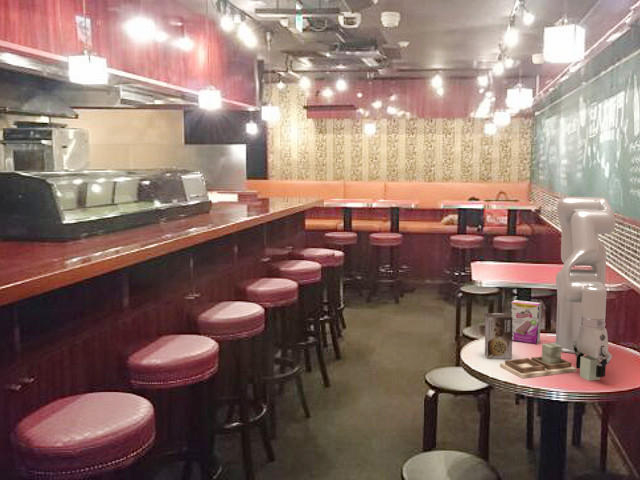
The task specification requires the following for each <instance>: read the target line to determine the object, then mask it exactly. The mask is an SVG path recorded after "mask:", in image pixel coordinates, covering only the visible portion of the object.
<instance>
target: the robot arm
mask: <svg viewBox="0 0 640 480" xmlns="http://www.w3.org/2000/svg"><path fill="white" fill-rule="evenodd" d="M556 214H557V217H558V221H559V224H560V228H561V240H560V242H561V243H560V258H561V261H562V263H563V265H562V268H561V270H559V271H558V272H557V273H556V275H555V283H556V284H555V285H556V293H557V294H556V296H557V298H556V299H557V302H556V328H555V341H554V342H552V343H554V344H557V345H559V346H561V353H568V354H569V353H570V354H575V355H574V356H575V360H576V361H575V368H577V369H579V370H580V359H581V357H582V356H590V357H592V358H595V359H596V361H597V363H598V365H597V366H596V377H600V378H604V377H606V370H607V369H606V367H607V366H608V364H609V363H610V361H611V359H612V358H613V355H612V354H611V353H610V352H609V338H608V330H607V328H606V326H607V324H606V313H607V311H606V309H607V288H606V271H607V269H606V268H607V250H606V247H605V245H604V244H603V242H600V241H599V234H601V235H603V234H607V235H609V234H612V233H614V231H615V229H616V216H615V213H614V211H613V208H612V206H611V204H610V202H609V201H608V199H607V198H605V197H602V196H567V197H562V198H560V199H559V200H558V202H557V205H556ZM574 266H576V267H577V266H579V267H580V266H581V267H583V266H584V267H590V269H585V268H573V267H574ZM600 359H601V361H600Z"/></svg>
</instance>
